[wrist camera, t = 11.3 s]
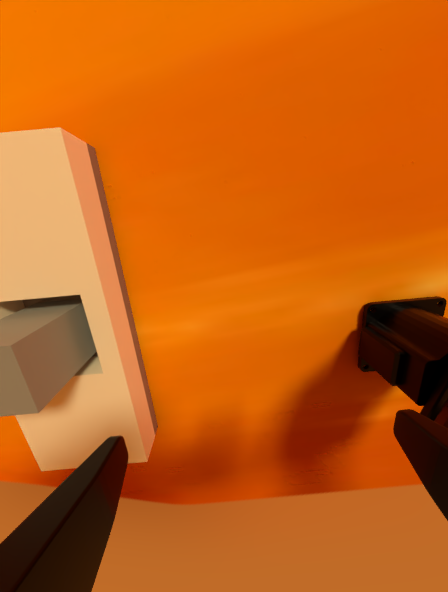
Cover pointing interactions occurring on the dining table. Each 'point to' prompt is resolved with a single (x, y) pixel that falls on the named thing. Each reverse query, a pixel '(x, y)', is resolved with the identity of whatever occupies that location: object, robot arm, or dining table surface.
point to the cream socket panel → (72, 294)
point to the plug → (41, 353)
